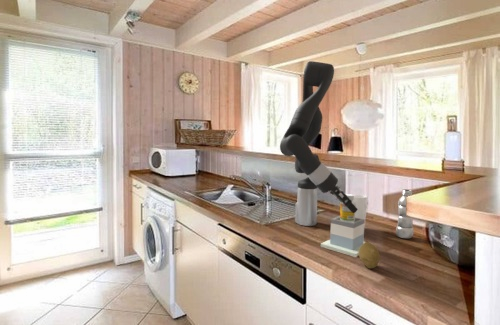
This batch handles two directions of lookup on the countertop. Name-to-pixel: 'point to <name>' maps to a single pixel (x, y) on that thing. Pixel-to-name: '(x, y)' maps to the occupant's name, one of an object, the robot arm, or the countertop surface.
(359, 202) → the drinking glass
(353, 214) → the supplement bottle
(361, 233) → the brick tower
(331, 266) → the countertop surface
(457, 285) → the countertop surface
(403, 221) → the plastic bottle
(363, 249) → the potato
